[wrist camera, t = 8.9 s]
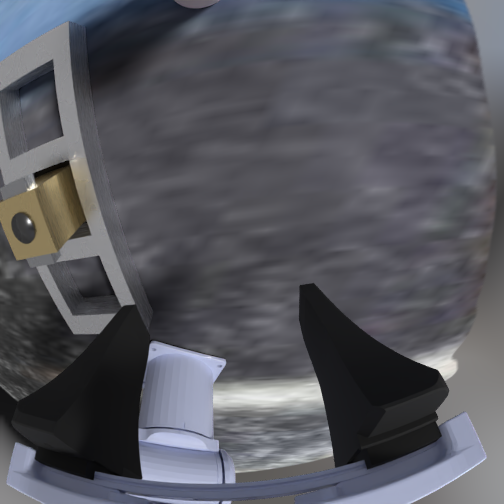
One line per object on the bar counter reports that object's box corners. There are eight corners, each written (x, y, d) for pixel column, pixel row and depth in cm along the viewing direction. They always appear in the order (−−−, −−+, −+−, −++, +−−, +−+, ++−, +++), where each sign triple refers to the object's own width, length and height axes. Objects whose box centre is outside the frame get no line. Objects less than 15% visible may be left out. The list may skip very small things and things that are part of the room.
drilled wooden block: (97, 220, 19) (61, 265, 14) (59, 229, 19) (20, 271, 14) (78, 150, 16) (28, 176, 11) (39, 165, 16) (-11, 194, 11)
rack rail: (153, 311, 24) (148, 332, 22) (82, 316, 24) (73, 334, 21) (85, 27, 11) (68, 20, 9) (6, 71, 11) (-14, 72, 9)
